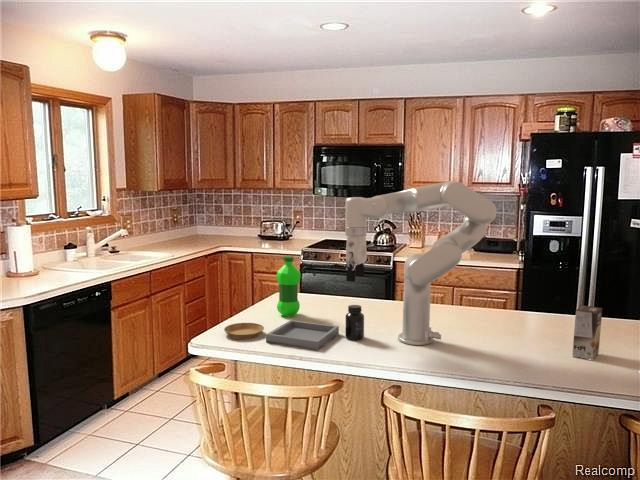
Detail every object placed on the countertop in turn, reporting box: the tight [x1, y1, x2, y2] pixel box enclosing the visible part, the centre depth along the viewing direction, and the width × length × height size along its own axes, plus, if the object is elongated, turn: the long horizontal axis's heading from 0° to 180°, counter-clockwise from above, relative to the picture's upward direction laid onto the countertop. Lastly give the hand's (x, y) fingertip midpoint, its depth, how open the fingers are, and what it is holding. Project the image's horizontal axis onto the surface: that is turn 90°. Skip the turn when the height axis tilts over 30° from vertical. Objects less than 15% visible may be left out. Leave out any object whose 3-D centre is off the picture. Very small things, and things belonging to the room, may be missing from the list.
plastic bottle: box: [275, 255, 302, 318], centre depth 221 cm, size 10×10×25 cm
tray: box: [265, 319, 340, 351], centre depth 192 cm, size 20×20×3 cm
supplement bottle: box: [345, 304, 365, 342], centre depth 192 cm, size 7×7×12 cm
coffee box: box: [571, 305, 603, 361], centre depth 176 cm, size 9×6×16 cm
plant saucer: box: [223, 322, 265, 340], centre depth 196 cm, size 15×15×3 cm
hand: (355, 278), depth 190 cm, fingers open, 9 cm apart
